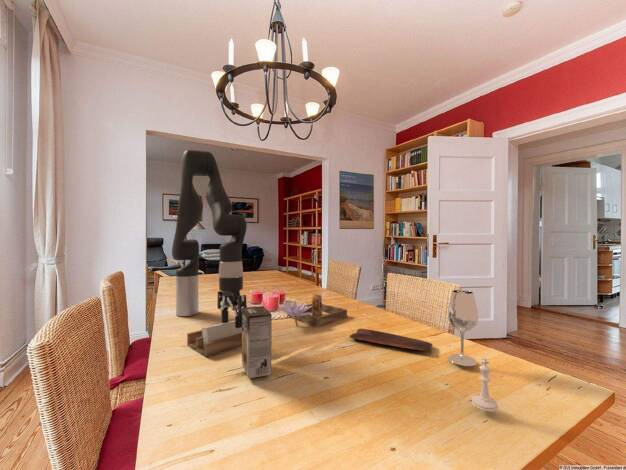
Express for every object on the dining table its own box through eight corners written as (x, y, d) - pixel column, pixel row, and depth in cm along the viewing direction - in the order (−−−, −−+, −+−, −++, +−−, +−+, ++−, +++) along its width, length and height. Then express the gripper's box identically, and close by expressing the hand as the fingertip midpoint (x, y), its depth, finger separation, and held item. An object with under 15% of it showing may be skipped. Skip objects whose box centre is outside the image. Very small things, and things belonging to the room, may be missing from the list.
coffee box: (241, 364, 84) (241, 307, 84) (263, 360, 86) (263, 305, 86) (247, 379, 76) (247, 315, 75) (272, 374, 78) (272, 313, 78)
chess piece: (467, 398, 67) (467, 354, 67) (488, 397, 67) (488, 353, 67) (480, 412, 62) (481, 363, 62) (503, 411, 62) (503, 363, 62)
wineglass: (474, 357, 89) (475, 290, 89) (480, 368, 82) (480, 295, 81) (446, 353, 91) (446, 288, 91) (448, 364, 84) (449, 293, 84)
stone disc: (319, 321, 124) (319, 297, 124) (310, 321, 125) (310, 297, 125) (323, 314, 135) (323, 292, 135) (315, 314, 135) (315, 292, 135)
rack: (187, 345, 98) (187, 333, 98) (240, 331, 112) (240, 320, 112) (206, 357, 88) (206, 344, 88) (262, 340, 103) (262, 328, 103)
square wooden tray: (287, 317, 130) (287, 309, 130) (316, 309, 143) (316, 302, 143) (318, 327, 117) (318, 318, 117) (347, 317, 130) (347, 309, 130)
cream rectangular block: (203, 347, 94) (201, 328, 94) (247, 335, 105) (245, 317, 106) (208, 348, 91) (206, 328, 92) (253, 335, 103) (250, 317, 103)
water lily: (319, 322, 123) (319, 300, 123) (306, 334, 109) (306, 309, 109) (286, 319, 128) (286, 298, 128) (270, 330, 114) (270, 306, 114)
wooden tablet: (434, 339, 99) (429, 346, 90) (433, 346, 99) (429, 353, 90) (358, 327, 112) (348, 332, 104) (358, 333, 112) (347, 338, 103)
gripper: (209, 274, 100) (210, 323, 100) (232, 278, 90) (233, 332, 90) (230, 272, 105) (230, 319, 105) (253, 275, 95) (254, 326, 95)
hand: (231, 325), depth 97 cm, fingers open, 8 cm apart
